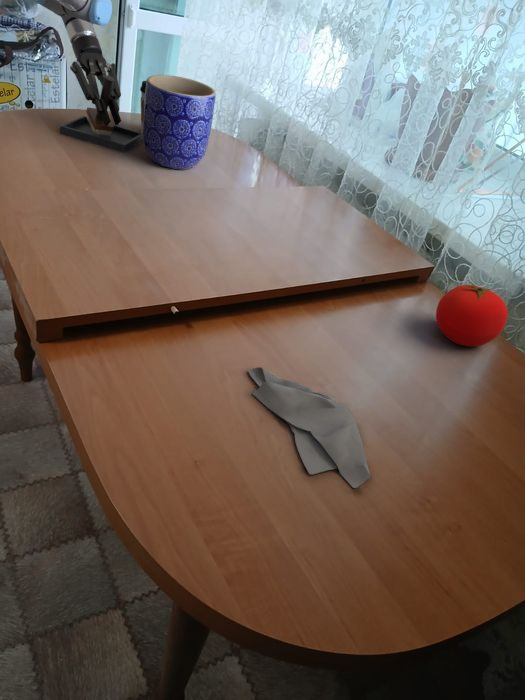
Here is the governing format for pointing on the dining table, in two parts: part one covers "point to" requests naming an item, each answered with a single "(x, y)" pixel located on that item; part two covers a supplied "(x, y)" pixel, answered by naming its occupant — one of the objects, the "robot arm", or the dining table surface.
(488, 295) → the tomato
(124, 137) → the tray
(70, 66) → the robot arm
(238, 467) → the dining table surface
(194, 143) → the planter
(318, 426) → the cloth
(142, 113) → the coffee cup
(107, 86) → the brush
